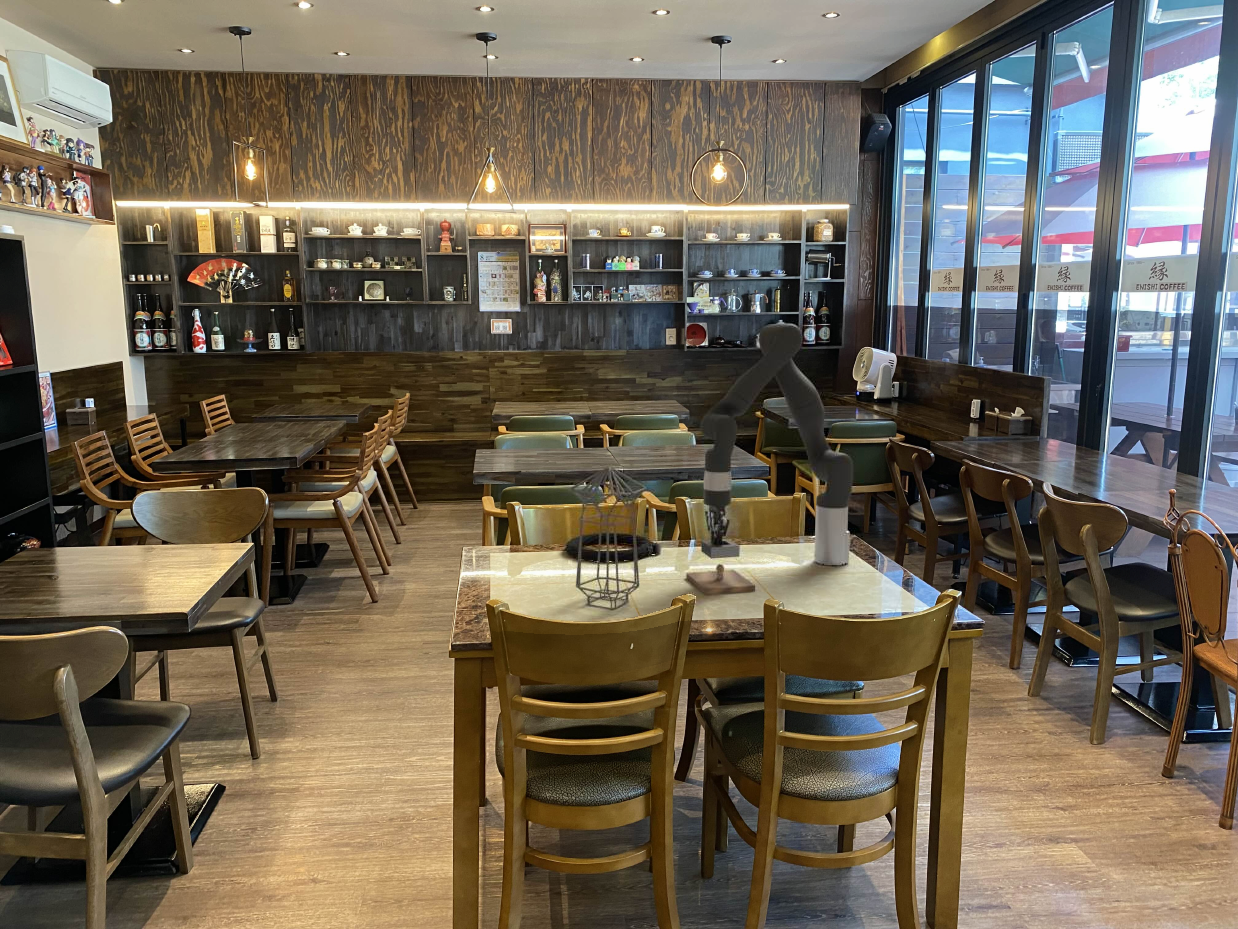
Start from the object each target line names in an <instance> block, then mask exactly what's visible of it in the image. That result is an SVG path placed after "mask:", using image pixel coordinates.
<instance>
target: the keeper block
mask: <svg viewBox="0 0 1238 929" xmlns="http://www.w3.org/2000/svg"><path fill="white" fill-rule="evenodd" d="M715 569H716V570H712V571H711V570H710V571H708V570H707V571H696V572H686V573H685V574H686V575H685V576H686V577H685V578H686V579H687V580H688V581H689V582H690V583H691V584H692V585H693V586H695V587H696V589H698V590H699V591H700V592H701V593H703V594H704V595H718V594H731V593H732V594H733V593H744V592H745V593H747V592H756V585H755V583H753V582H751V581H750V580H749V579H747V578H746V577H745V576H743V575H742V574H740V573H739V572H737V571H736V570H734V569H727V570H726V569H725V567H724V565H723V564H717V565H716V567H715Z"/></svg>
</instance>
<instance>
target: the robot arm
mask: <svg viewBox="0 0 1238 929" xmlns="http://www.w3.org/2000/svg"><path fill="white" fill-rule="evenodd" d="M758 344H759V347H760V350H761V353H762V355H763V356H762V358H760V360H759V361H758V362H756V363H755V364H754V365H753V366H752V367H750V369H747V370H746V372H744V373H743V374H742V375H740V377H739V378H738V379H737V380H736V381H735V382H734V383H733V385H732V386H731V387H730V389H729V390H728V391H727V393H726V395H724V397H723V398H722V399H721V400H720V401H718V402H717V403H716V404H715V405H714V406H713V407H711V408H710V409H709V410H708V411H707V412H706V413H705V415H703V418H702V419H701V423H700V432H701V434H702V436H704V437H705V438H707V439H711V440H714V443H713V448H710V449H709V448H708V450H706V452H705V456H704V475H703V502H702V503H703V504H704V505H706V506H707V507H708V509H707V510H704V515H705V521H706V527H707V528H706V529H707V531H708V532H709V535H710V540H714V545H715V546H717V545H722V539H723V538H724V537H726V536H727V533H728V529H729V526H730V519H729V518H727V512H726V507H727V506H730V505H731V503H732V485H733V484H732V480H733V479H732V470H731V469H732V454H733V451H734V448H735V444H736V440H737V437H738V425H737V421H736V420H735V417H740V416H742V415H744V414H745V413H746V412H747V410H748V409H749V408H750V407H751V405H752V404H753V402H754V401H755V400H756V399H757V396H759V394H760V392H761V391H763V389H764V387H765V386H766V385H767V384H768V383H769V382H770V381H771V380H772V379H773V377H775V379H776V381H777V383H778V386H779V389H780V390H781V393H782V394H783V396H784V400H785V402H786V404H787V407H788V410H789V412H790V413H791V414H790V415H791V416H792V419H793V421H794V423H795V425H796V428H797V429H798V432H799V436H800V437H801V439H802V443H803V445H804V448H805V451H806V455H807V457H808V461H809V465H810V468H811V471H812V473H813V475H814V477H815V478H817V479H818V480H820V481H822V482H825V483H826V485H825V491H824V492H823V493H819V494H818V495H817V496H816V501H815V502H816V503H815V527H814V528H815V530H814V555H813V557H814V563H816V562H817V563H816V564H818V563H819V564H818V565H822V564H824V565H823V566H831V565H837V566H842V564H843V565H845V563H846V564H849V563H850V543H851V542H850V540H851V539H850V538H851V533H850V531H849V530H848V520H849V519H848V518H849V517H848V515H849V502H850V499H851V496H852V490H853V480H854V463H853V460H852V458H851V457H850V456H849V455H848V454H846V453H845V452H844V453H843V452H839V451H833V450H832V449H831V447H830V445H829V443H828V440H827V438H826V435H825V432H824V431H825V428H824V427H825V419H826V418H825V417H826V413H825V407H824V404H823V402H822V400H821V396H820V394H819V392H818V390H817V389H816V387H815V385H814V384H813V383H812V381H811V380H810V379H809V378H807V377H806V376H805V375H804V374H803V373H802V372H801V370H800V369H799V368H798V367H797V365H796V364H795V362H794V360H793V357H794V356H796V354H797V353H798V351H800V349H801V347H802V344H803V333H802V330H801V329H800V328H799V326H797V325H796V324H793V323H774V324H773V323H772V324H767V325H765V326H764V327H762V328H761V330H760V332H759V334H758Z"/></svg>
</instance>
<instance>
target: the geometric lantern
mask: <svg viewBox="0 0 1238 929" xmlns="http://www.w3.org/2000/svg"><path fill="white" fill-rule="evenodd" d="M607 477H608V483H607V482H606V481H607ZM621 477H622V478H623V479H625V480H627V481H629V482H630V483H632V484H634V485H637V486H629V485H628V484H627V483H626V482H625V481H624V480H623V479H622V478H621ZM592 478H593V479H592ZM612 478H613V480H614V483H615V484H613V480H612ZM591 479H592V480H591ZM589 480H590V482H589V483H588V484H587V485H586V486H584V487H583V488H578V487H579V486H581V485H583V484H584V483H586V482H588V481H589ZM602 481H603V482H602ZM620 483H621V484H622V485H623V486H624V487H625V488H624V487H622V485H621V484H620ZM601 485H603V486H605V487H606V488H607V490H609V491H610V493H598V490H599V489H600V486H601ZM614 488H615V489H617V491H618V492H616V491H615V490H614ZM636 489H637V490H636ZM648 489H649V488H648V487H646V486H645V485H643V484H641V483H639V482H638V481H636V480H634V479H632V478H631V477H630V476H628V475H626V474H625V473H623V472H620V471H619V470H617V469H616V468H614V467H612V466H611V467H610V466H608V467H607V466H606V467H604V468H603V469H601V470H599V471H597V472H596V473H595V474H594V473H593V474H592V475H591V476H589V477H587V478H585V479H583V480H582V481H580V482H578V483H577V484H575V485H573V486H571V487H570V488H568V491H569V492H571V493H572V494H573V495H575V497H576V498H578V499H579V500H580V501H581V502H582V506H581V515H580V518H579V521H580V522H579V524H580V525H579V536H580V539H579V552H578V558H577V567H576V568H577V569H576V580H575V588H577V589H578V590H580V592H582V594H584V595H585V596H586V599H587V600H586V605H587V606H589V607H590V606H591V607H596V608H600V609H601V608H602V609H607V610H616V609H618V608H620V607H622V606H624V605H625V604H627V603H629V602H630V601H629V595H630V594H632V593H633V592H634V591H636V590H637V589H639V587H640V576H639V575H640V574H639V562H638V561H639V559H637V546H636V535H637V532H636V507H635V504H636V500H638V499H639V497H640V496H642V494H643V493H644V492H645V491H646V490H648ZM592 490H593V491H592ZM633 490H635V491H633ZM581 494H582V495H581ZM587 495H589V497H587ZM612 496H613V497H617V499H616V501H615V502H614V504H613V505H612V507H611V508H610V510H609V511H608V513H607V514H606V513H604V512H603V511H602V509H601V507H600V506H599V504H601V503H603V502H605V501H606V500H608V499H609V498H611V497H612ZM623 496H624V497H623ZM596 497H603V498H602V499H600V500H599V501H597V502H596ZM632 498H633V499H632ZM631 499H632V501H631V502H629V501H630V500H631ZM619 500H620V501H621V502H622V504H623V505H622V506H621V508H619V510H618V512H617V514H611V513H612V512H613V510H614V508H615V507H616V506H617V504H618V502H619ZM588 501H590V502H591V503H588ZM631 505H632V513H631V509H630V506H631ZM624 506H625V507H627V509H628V512H629V515H630V516H626V515H619V514H620V513H621V511H622V509H623V508H624ZM586 507H595V509H596V511H597V512H598V514H595V515H592V516H588V517H584V515H585V514H584V513H585V510H586ZM596 517H599V521H598V522H597V521H591V520H589V519H592V518H596ZM610 517H615V518H614V519H613V521H612V522H611V523H610ZM617 518H624V519H625V518H626V519H631V520H627V521H622V522H619V523H615V521H616V519H617ZM603 520H604V521H605V523H603ZM584 523H589V524H590V523H591V524H597V525H599V531H598V532H599V544H598V562H597V569H596V577H595V578H592V579H588V580H586V581H583V582H581V575H582V572H581V570H582V560H581V548H583V546H582V535H583V527H584V526H583V525H584ZM627 523H632V535H633V544H634V546H633V548H634V560H633V577H634V580H627V579H620V578H619V564H618V563H619V562H618V559H617V550H618V543H617V538H616V533H617V526H619V525H623V524H627ZM602 526H606V533H607V543H606V551H607V562H606V576H602V577H601V576H600V550H601V546H602V544H601V533H602V528H603V527H602ZM610 526H613V533H614V541H615V543H614V551H615V562H614V563H615V576H616V577H615V578H614V577H609V576H610V574H609V571H610V562H609V551H610V543H609V533H610ZM600 580H605V585H604V588H603V589H602V586H601V581H600ZM609 580H610V581H616V582H615V583H616V590H613V589H612V590H611V589H609V586H610V585H609V584H610V583H609ZM594 581H595V582H596V581H597V582H598V586H599V589H598V590H597V589H592V588H587V587H581V586H583V585H586V584H588V583H592V582H594ZM620 582H622V583H628V584H632V585H631V586H630V587H626V588H624V589H622V590H620ZM585 591H588V592H592V593H590V594H588V593H586V592H585ZM595 594H599V596H598V597H597V596H593V595H595ZM619 594H623V595H622V596H619ZM611 595H615V596H614V597H613V596H611ZM618 596H619V597H618ZM601 597H602V598H601ZM607 597H609V598H608V599H607ZM613 598H614V599H613ZM592 599H593V600H592ZM619 599H621V600H620V601H625V600H626V601H625V602H623V603H620V604H619V605H617V600H619ZM597 600H601V601H605V602H606V601H608V602H610V607H607V606H602V605H597V604H591V603H593V602H595V601H597ZM613 602H614V607H613Z"/></svg>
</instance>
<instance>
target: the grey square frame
mask: <svg viewBox="0 0 1238 929" xmlns="http://www.w3.org/2000/svg"><path fill="white" fill-rule="evenodd" d="M700 544H701V551H700V552H701V553H703V554H704V555H706V556H707V557H708V558H710V559H711V560H712V559H726V558H740V554H741V553H740V549H741V546H740V545H739V543H736V542H734V541H733V540H731V539H730V538H727V539H724V538H722V545H717V546H715V545H714V540H711V539H708V540H706V539H705V540H701V543H700Z"/></svg>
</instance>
